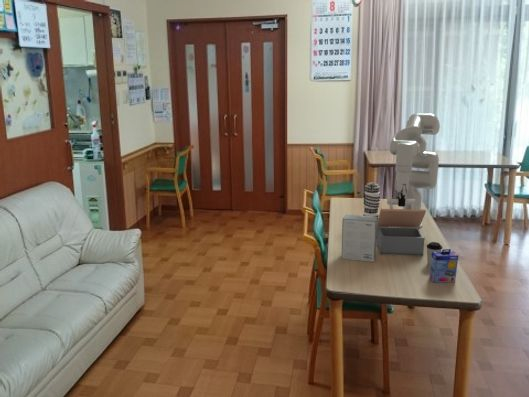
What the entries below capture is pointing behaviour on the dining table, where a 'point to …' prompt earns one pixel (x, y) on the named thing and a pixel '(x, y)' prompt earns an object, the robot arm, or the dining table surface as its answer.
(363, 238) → the hard drive box
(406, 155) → the robot arm
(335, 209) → the dining table surface
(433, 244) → the coffee cup
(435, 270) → the ink cartridge box
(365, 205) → the decorative candle
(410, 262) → the dining table surface
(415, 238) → the box
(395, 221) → the flap
